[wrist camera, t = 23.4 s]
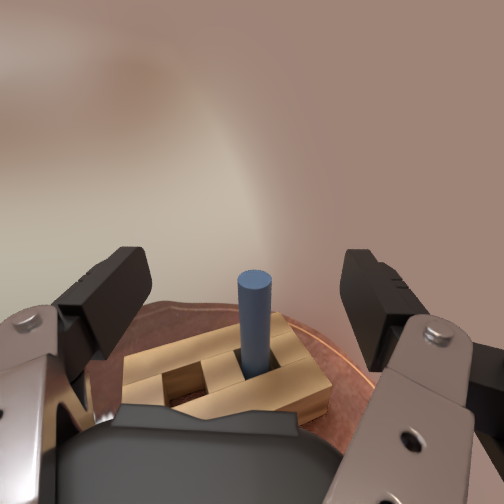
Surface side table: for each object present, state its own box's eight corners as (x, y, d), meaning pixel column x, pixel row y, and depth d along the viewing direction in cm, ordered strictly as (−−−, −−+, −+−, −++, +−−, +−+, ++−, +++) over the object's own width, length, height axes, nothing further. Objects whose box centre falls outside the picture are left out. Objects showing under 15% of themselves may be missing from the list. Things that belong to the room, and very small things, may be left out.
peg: (262, 370, 33) (263, 266, 26) (273, 392, 31) (277, 284, 23) (239, 379, 32) (233, 273, 25) (248, 402, 30) (244, 292, 22)
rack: (134, 383, 32) (124, 356, 30) (278, 336, 38) (279, 311, 36) (132, 503, 22) (117, 477, 20) (326, 413, 28) (332, 385, 26)
